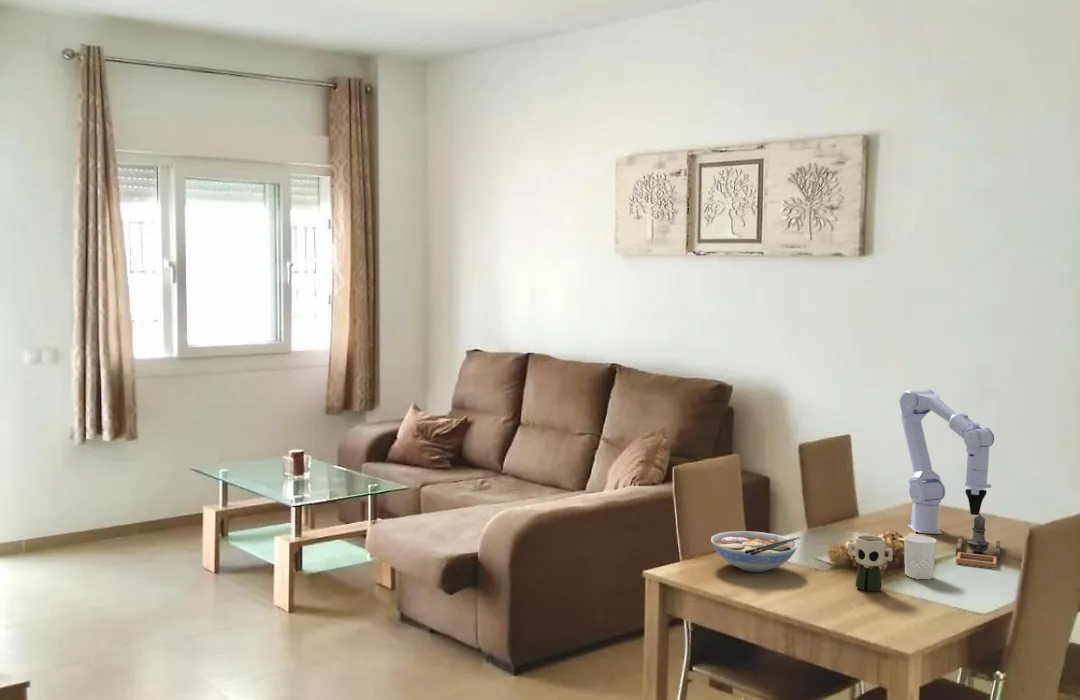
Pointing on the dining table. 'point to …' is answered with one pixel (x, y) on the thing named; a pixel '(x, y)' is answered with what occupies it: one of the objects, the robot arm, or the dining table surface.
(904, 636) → the dining table surface
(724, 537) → the ramen bowl
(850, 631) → the dining table surface
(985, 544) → the dark grey figurine
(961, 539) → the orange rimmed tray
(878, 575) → the character mug
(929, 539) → the white cup
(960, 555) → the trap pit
